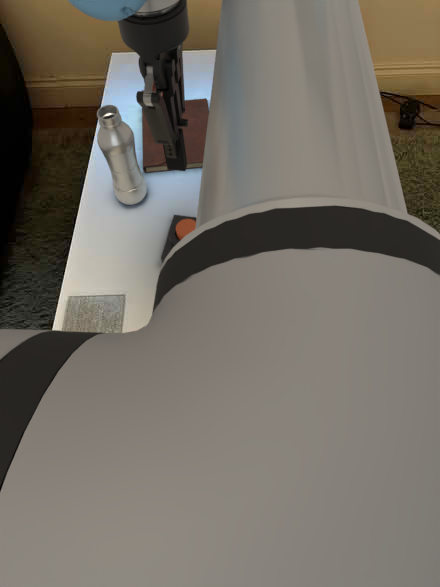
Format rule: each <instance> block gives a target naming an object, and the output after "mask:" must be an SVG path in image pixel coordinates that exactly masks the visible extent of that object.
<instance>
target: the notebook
mask: <svg viewBox="0 0 440 587" xmlns="http://www.w3.org/2000/svg"><path fill="white" fill-rule="evenodd" d="M185 108H186V110H185V113H184V114H182V117H183V119H188V126H187V127H181V126H180V128H181V129H183V136H184V143H185V150H186V158H187V167H186V170H190V169H191V170H192V169H199V168H200V169H202V167H203V159H204V150H205V142H206V133H207V125H208V116H209V108H210V107H209V101H208V99H207V98H194V99H185ZM141 132H142V134H141V135H142V171H143V173H145V174H149V173H159V172H160V173H161V172H168V171H169V172H170V171H172V170H169V169H167V164H166V159H165V154H164V149H163V144H155V141H154V139H153V136H152V133H151V130H150V128H149V125H148V122H147V119H146V117H145V114H144V111H143V109H142V108H141Z"/></svg>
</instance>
